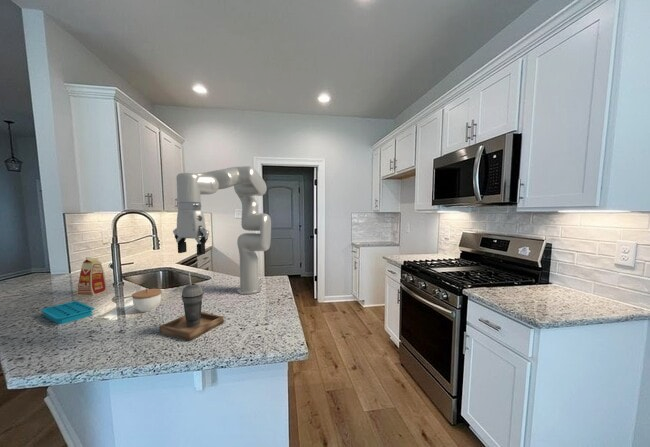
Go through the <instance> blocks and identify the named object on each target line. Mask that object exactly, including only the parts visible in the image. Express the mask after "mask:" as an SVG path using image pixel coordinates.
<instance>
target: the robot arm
mask: <svg viewBox="0 0 650 447" xmlns="http://www.w3.org/2000/svg"><path fill="white" fill-rule="evenodd" d="M175 179H176V196H177V198H176V199H177V215H176V228H175V229H174V230H172V233H173V235H174V238H175V241H176V243H177V253H178V254H184V253H187V249H188V248H187V241H186V240H187V239H192V240H195V241H196V255H197V256H202V255H205V254H206V243H207V241H208V239H209V236H210V231H209V230H207V229H206V220H205V215H204V211H203V210H202V201H201V200H202V199H201V195H204V196H205V195H213V194H215V193H216V192H218V190H223V189H224V190H225V189H229V188H231V187H233V190H234V192H235V194H236V196H238V198H239V199H240V200H239V201H240V202H241V224H240V225H241V228H242V229H243V230H244V231H251V232H245V233H242V234H240V235H239V236H238V237H237V243H236V244H237V249H238V254H239V284H240V285H239V286H240V287H239V288H237V290H236V291H237V293H238V294H239V295H252V294H253V295H254V294H257V293H259V292H261V291H262V287H261V286H260V285H261V284H263V283H264V280H263V279H260V280H259V259H258V256H257V253H256V252H267V251H268V250H269V249H270V247H271V243H272V242H271V240H272V218H271V216H270V215H269V214H267V213H266V212H265V213H262V212H259V203H258V201H257V200H256V198H255V197H262V196H264V195H265V194H266V193H267V184H266V182H265V180H264V178H263V177H262V176H261V174H260V172H258V171H257V170H256V169H255V167H253V166H249V165H247V166H243V165H242V166H231V167H227V168H222V169H221V168H220V169H215V170H211V171H205V172H199V173H193V172H180V173H178V174H177V175H176V178H175ZM253 231H254V232H255V231H257V233H256V232H255V233H254V232H253ZM258 232H259V233H258Z"/></svg>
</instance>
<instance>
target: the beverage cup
mask: <svg viewBox="0 0 650 447" xmlns="http://www.w3.org/2000/svg"><path fill="white" fill-rule="evenodd" d="M187 273H188V275H187V276H188V280H189V284H187V285H186V286H185V287H184V288H183V289H182V291H181V299H182V303H183V308H184V309H183V310H184V316H185V318H186V324H187V327H196V326H198V325H200V320H201V312H202V301H203V295H204V291H203V288H202V287H201V286H200V285H199V284H197V283H192V280H191V272H190V271H189V272H187Z"/></svg>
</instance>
